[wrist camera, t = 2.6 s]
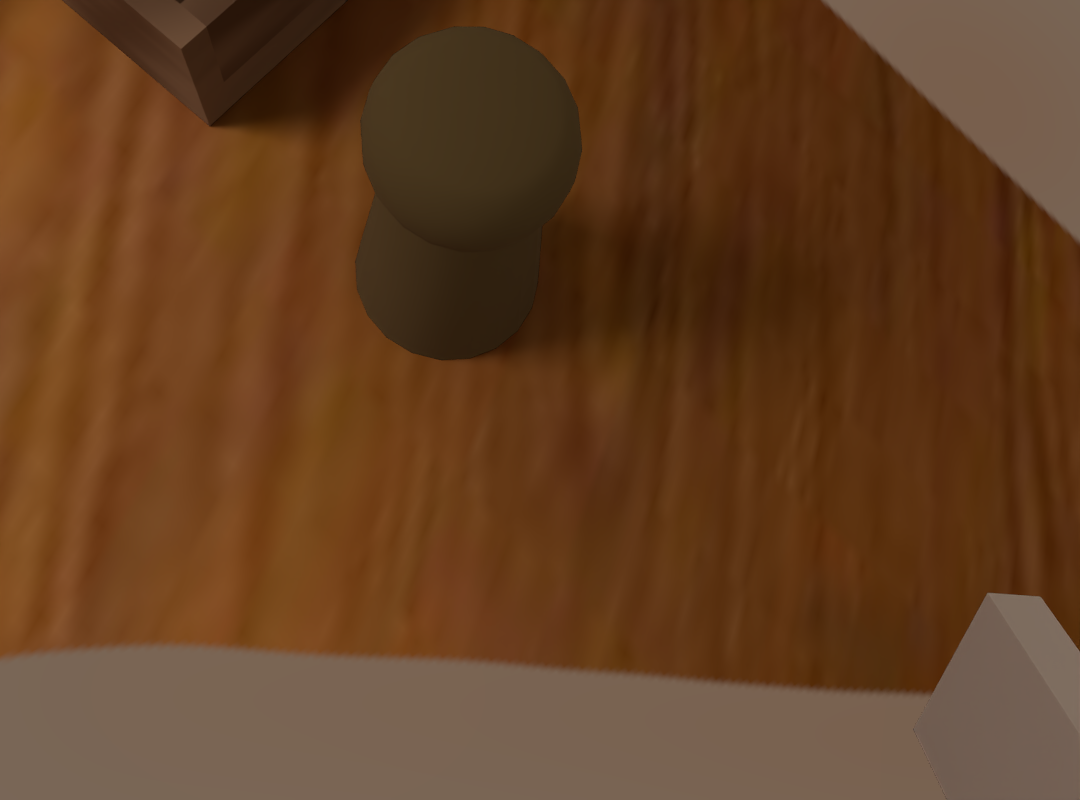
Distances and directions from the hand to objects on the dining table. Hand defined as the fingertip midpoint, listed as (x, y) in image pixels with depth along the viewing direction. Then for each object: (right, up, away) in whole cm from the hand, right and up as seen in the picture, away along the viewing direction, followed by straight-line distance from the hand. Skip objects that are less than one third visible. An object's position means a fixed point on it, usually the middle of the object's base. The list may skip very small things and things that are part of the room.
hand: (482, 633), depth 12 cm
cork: (-2, +7, +19) cm, 21 cm away
